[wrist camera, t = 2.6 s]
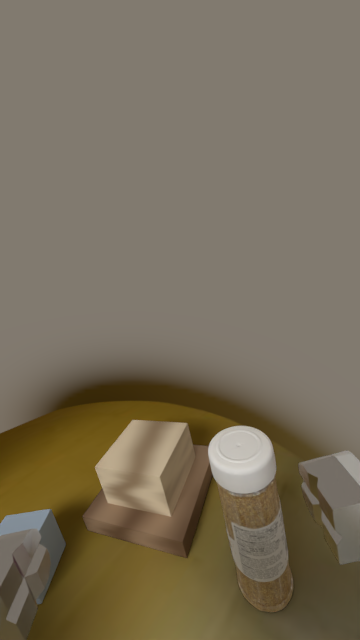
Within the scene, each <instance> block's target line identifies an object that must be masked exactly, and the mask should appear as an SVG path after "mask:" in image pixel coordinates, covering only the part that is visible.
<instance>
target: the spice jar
mask: <svg viewBox="0 0 360 640" xmlns="http://www.w3.org/2000/svg"><path fill="white" fill-rule="evenodd" d="M208 456H209V462H210V466H211V470H212V474H213V477H214V479H215V480H216V482H217V485H218V490H219V494H220V499H221V504H222V508H223V513H224V518H225V522H226V530H227V534H228V539H229V543H230V548H231V552H232V556H233V559H234V561H235V566H236V570H237V580H238V585H239V588H240V590H241V592H242V594H243V596H244V597H245V598H246V599H247V600H248V602H249V603H250V604H252V605H253V606H254V607H255V608H257V609H258V610H260V611H266V612H277V611H279V610H282V609H283V608H284V607H285V606H286V605H287V604H288V602H289V601H290V599H291V597H292V593H293V588H294V585H293V577H292V572H291V569H290V567H289V562H288V547H287V541H286V535H285V528H284V522H283V516H282V509H281V503H280V498H279V495H278V490H277V485H276V478H275V477H276V460H275V455H274V450H273V446H272V443H271V441H270V439H269V438H268V436H267V435H266V434H264V433H263V432H262V431H260V430H258V429H256V428H253V427H249V426H233V427H229V428H227V429H224V430H222V431H220V432H219V433H218V434H216V435H215V436H214V437H213V439H212V440H211V442H210V444H209V447H208Z"/></svg>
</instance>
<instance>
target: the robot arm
mask: <svg viewBox="0 0 360 640" xmlns="http://www.w3.org/2000/svg"><path fill="white" fill-rule="evenodd" d="M298 468H299V474H300V475H301V477H302V479H303V480H304V481H303V483H302V485H301V487H302V492H303V496H304V499H305V502H306V505H307V507H308V509H309V512H310V514H311V516H312V517H313V519H314V521H315V522H316V523H317V524H319V525H320V526H322V527H323V532H324V539H325V540H326V542H327V544H328V545H329V547H330V549H331V551H332V552H333V554H334V556H335V558H336V559H337V561H338V563H339V564H340V565H342V564H347V563H351V562H356V561H360V461H359V460H358V459H357V458H356V457H355V456H354V454H353V453H351V452H350V451H348V450H346V451H343V452H339V453H335V454H331V455H327V456H323V457H319V458H316V459H312V460H308V461H304V462H300V463H299V465H298ZM40 540H41V535H40V533H39V531H38V529H28V530H23V531H19V532H14V533H10V534H5V535H1V536H0V640H26V639H27V637H28V634H29V631H30V628H31V626H32V623H33V620H34V618H35V615H36V612H37V609H38V608H37V603H36V599H37V598H38V597H39V595H40V594H41V593H42V592H43V591H44V589H45V587H46V584H47V581H48V578H49V574H50V566H51V561H50V554H49V552H48V550H47V548H46V547H44V546H43V545H41V544H39V543H40Z"/></svg>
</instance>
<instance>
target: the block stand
mask: <svg viewBox="0 0 360 640" xmlns="http://www.w3.org/2000/svg"><path fill="white" fill-rule="evenodd" d="M208 447H209V446H202V445H193V444H192V439H191V435H190V431H189V427H188V423H177V422H160V421H143V420H132V422H131V423H130V424H129V425H128V427H127V428H126V429H125V430H124V431H123V433H122V434H121V435H120V436H119V438H118V439H117V440H116V441H115V443H114V444H113V445H112V446H111V448H110V449H109V450H108V451H107V453H106V454H105V455H104V456H103V457H102V459H101V460H100V461H99V462H98V464H97V465H96V466H95V469H96V472H97V474H98V477H99V480H100V483H101V485H102V489H101V491H100V492H99V494H98V495H97V497H96V498H95V499H94V501H93V502H92V504H91V505H90V506H89V508H88V509H87V511H86V512H85V513H84V515H83V516H82V517H83V520H84V522H85V525H86V527H87V530H88V531H92V532H96V533H99V534H103V535H106V536H110V537H113V538H117V539H121V540H124V541H128V542H131V543H135V544H138V545H142V546H146V547H149V548H153V549H156V550H160V551H163V552H167V553H171V554H174V555H178V556H181V557H185V558H187V557H188V553H189V550H190V547H191V544H192V540H193V537H194V534H195V531H196V527H197V524H198V521H199V518H200V514H201V511H202V508H203V505H204V501H205V498H206V495H207V492H208V488H209V485H210V482H211V479H212V475H213V474H212V470H211V466H210V462H209V456H208Z"/></svg>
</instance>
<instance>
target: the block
mask: <svg viewBox="0 0 360 640" xmlns="http://www.w3.org/2000/svg"><path fill="white" fill-rule="evenodd" d="M28 529H38V531H39V533H40V535H41V540H40V543H39V544H41V545H43V546H44V547H46V548H47V550H48V552H49V554H50V561H51V566H50V574H49V578H48V581H47V584H46V587H45V589H44V591H43V592H42V593H41V594H40V595H39V597H38V598H37V599H36V603H37V604H42V602H43V599H44V597H45V594H46V592H47V589H48V587H49V585H50V582H51V580H52V577H53V575H54V572H55V570H56V568H57V565H58V563H59V560H60V558H61V555H62V553H63V551H64V548H65V546H66V543H65V541H64V538H63V536H62V534H61V531H60V529H59V527H58V524H57V522H56V520H55V517H54V515H53V513H52V510H51V509H46V510H40V511H34V512H27V513H21V514H14V515H8V516H5V518H4V519H3V521H2V522H1V524H0V536H1V535H5V534H10V533H14V532H19V531H23V530H28Z"/></svg>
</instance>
